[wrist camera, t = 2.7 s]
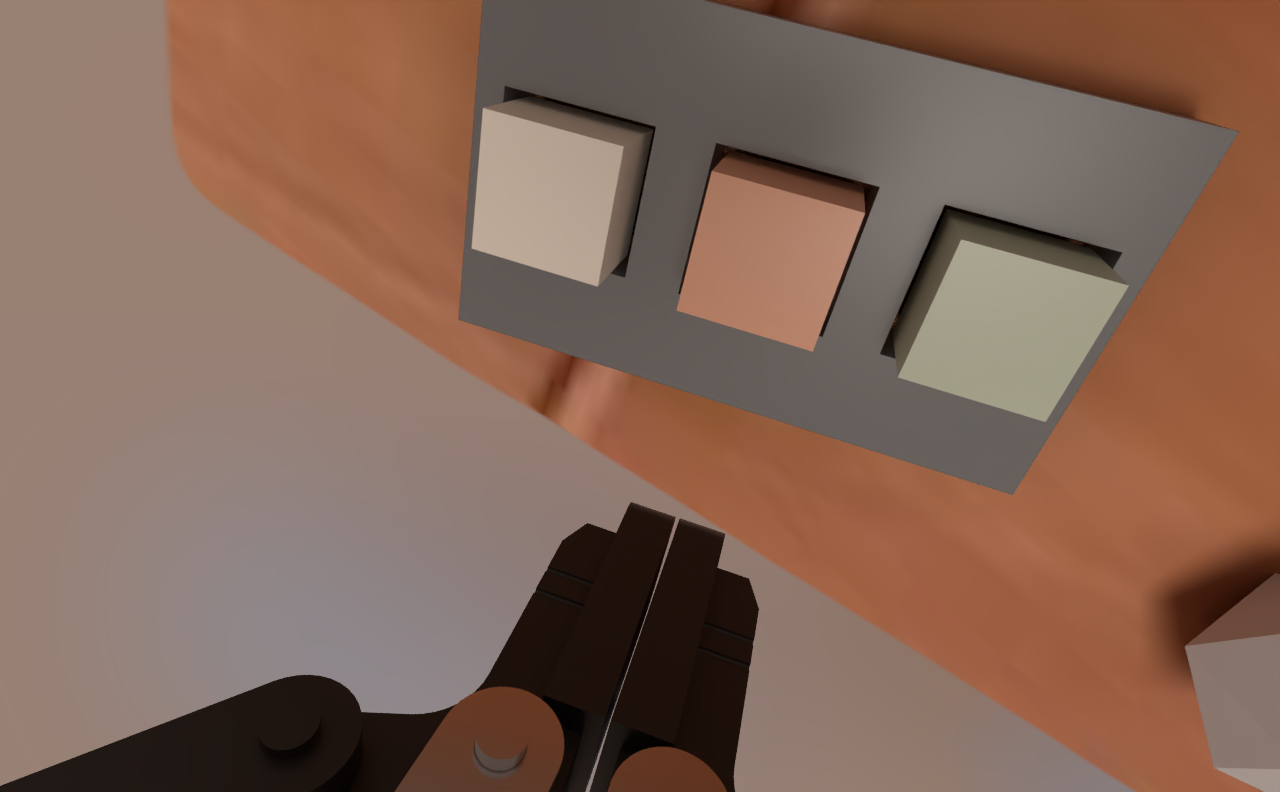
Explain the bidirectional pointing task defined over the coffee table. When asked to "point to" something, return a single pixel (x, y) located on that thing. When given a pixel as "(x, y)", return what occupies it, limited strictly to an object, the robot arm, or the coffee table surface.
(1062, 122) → the key panel
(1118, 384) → the coffee table surface
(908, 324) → the key sage
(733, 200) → the key terracotta
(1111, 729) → the coffee table surface
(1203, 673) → the die
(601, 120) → the key ivory
